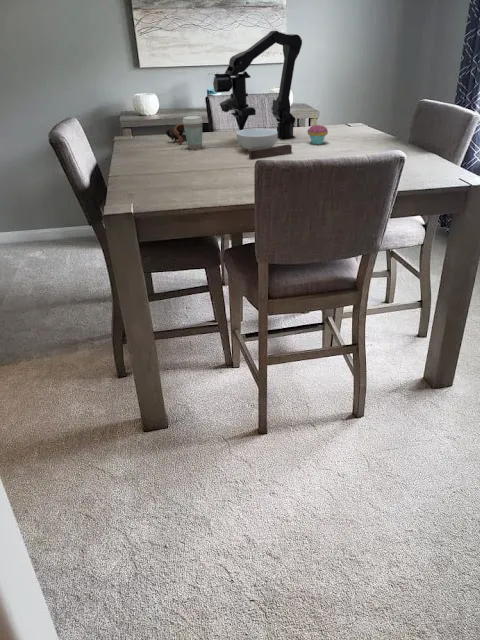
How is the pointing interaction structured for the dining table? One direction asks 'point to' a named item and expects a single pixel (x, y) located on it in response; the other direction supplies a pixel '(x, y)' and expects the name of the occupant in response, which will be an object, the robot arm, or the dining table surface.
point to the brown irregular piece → (177, 133)
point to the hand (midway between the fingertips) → (241, 131)
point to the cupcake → (317, 133)
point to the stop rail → (270, 151)
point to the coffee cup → (193, 131)
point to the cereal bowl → (257, 138)
